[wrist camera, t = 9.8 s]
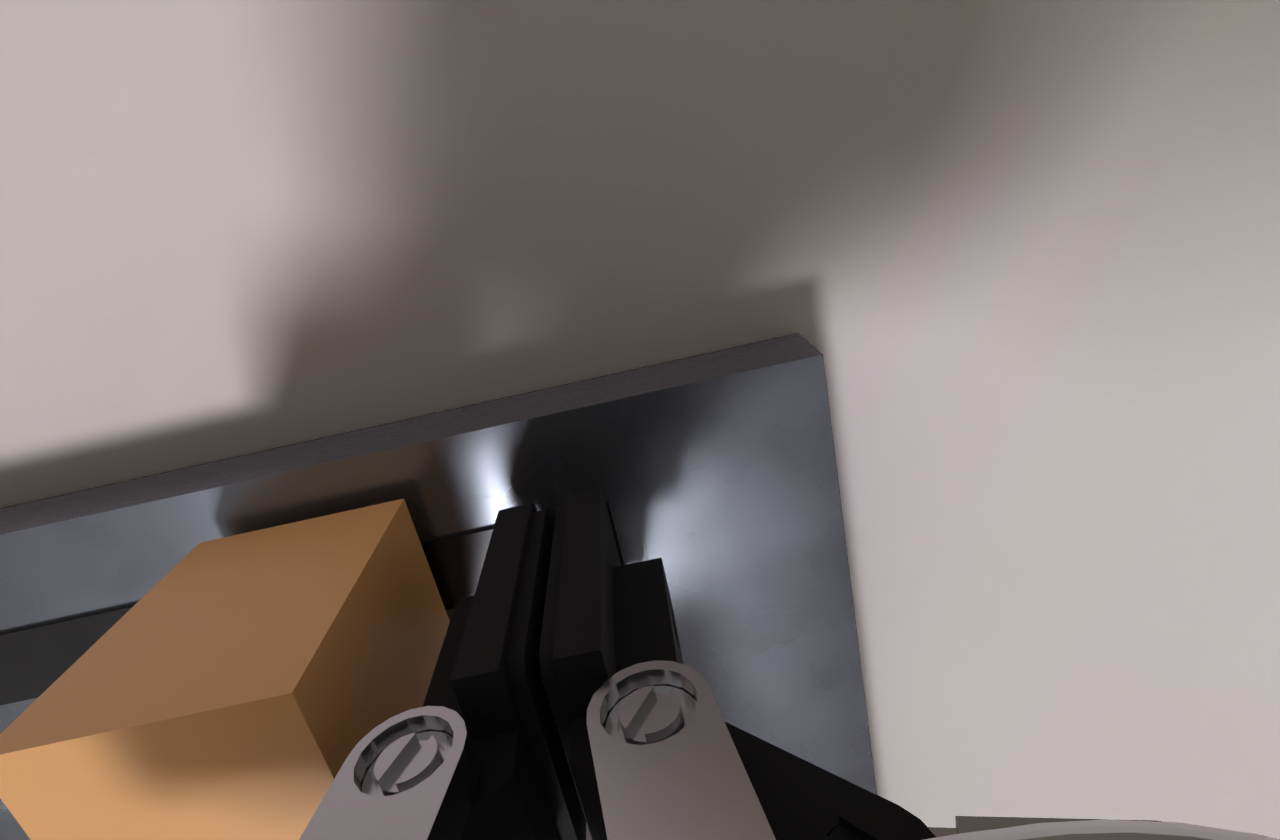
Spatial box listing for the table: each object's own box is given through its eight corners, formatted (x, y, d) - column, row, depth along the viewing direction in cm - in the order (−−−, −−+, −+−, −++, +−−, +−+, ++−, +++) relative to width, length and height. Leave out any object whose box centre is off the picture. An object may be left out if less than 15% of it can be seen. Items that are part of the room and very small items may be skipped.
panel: (798, 332, 13) (842, 372, 11) (879, 938, 19) (918, 1047, 17) (-283, 570, 13) (-470, 658, 11) (129, 1086, 19) (65, 1214, 17)
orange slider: (403, 498, 12) (292, 693, 7) (466, 666, 13) (401, 915, 9) (199, 542, 12) (-29, 760, 7) (281, 705, 13) (126, 970, 9)
